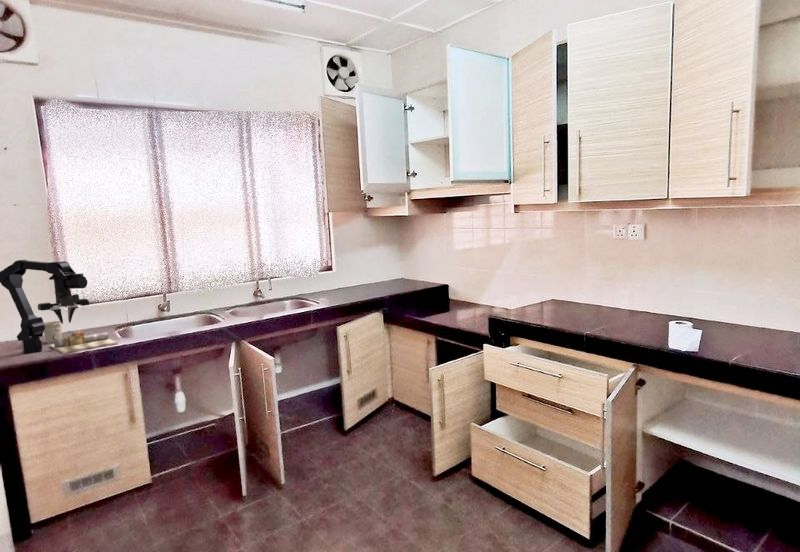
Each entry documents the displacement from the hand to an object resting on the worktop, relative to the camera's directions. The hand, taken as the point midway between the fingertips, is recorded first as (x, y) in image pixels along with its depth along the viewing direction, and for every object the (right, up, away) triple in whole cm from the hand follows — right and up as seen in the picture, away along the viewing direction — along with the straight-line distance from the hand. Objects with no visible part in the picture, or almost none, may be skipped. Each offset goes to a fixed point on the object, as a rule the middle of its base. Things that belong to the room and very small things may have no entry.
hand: (66, 323), depth 221 cm
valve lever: (+1, -7, +7) cm, 10 cm away
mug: (-24, -12, +25) cm, 37 cm away
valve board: (0, -12, +12) cm, 17 cm away
